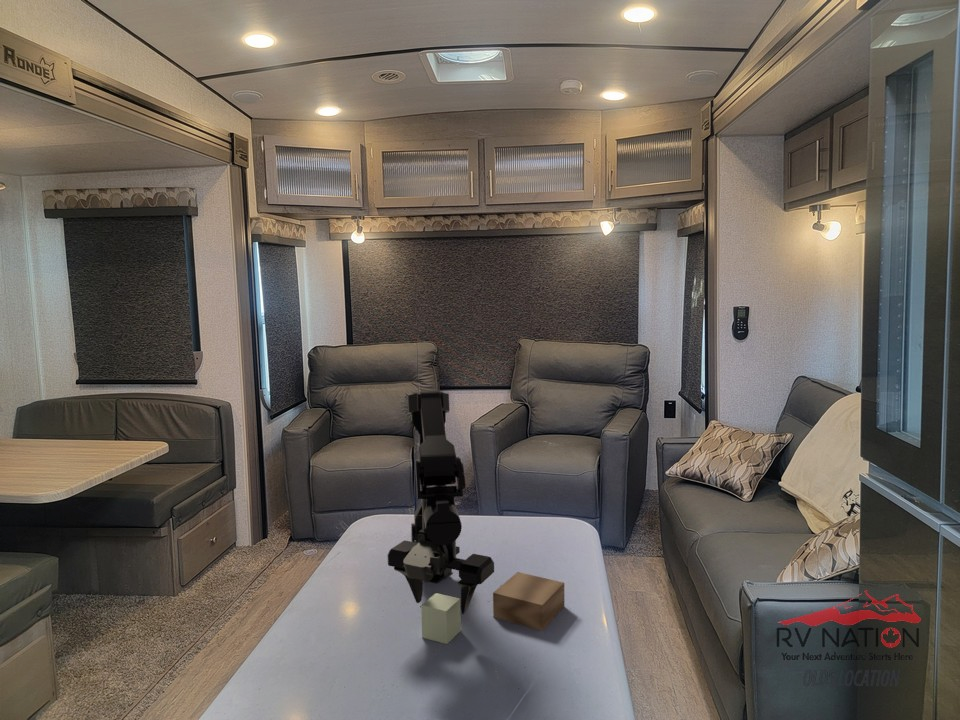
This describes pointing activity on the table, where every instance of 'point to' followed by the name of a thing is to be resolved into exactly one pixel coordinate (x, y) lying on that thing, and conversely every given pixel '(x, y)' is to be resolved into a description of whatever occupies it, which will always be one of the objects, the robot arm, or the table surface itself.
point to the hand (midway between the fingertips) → (441, 607)
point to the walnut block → (528, 600)
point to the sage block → (441, 618)
